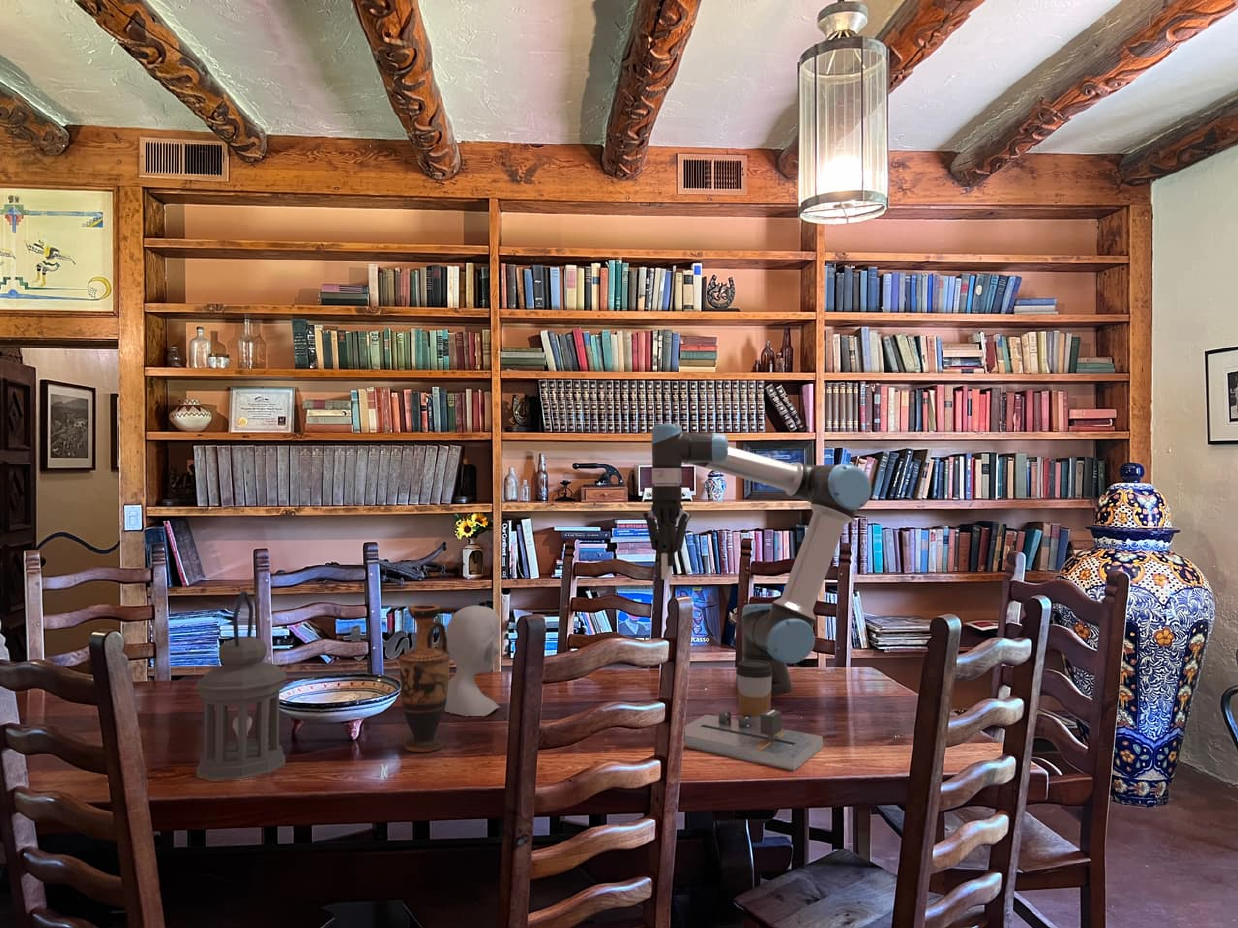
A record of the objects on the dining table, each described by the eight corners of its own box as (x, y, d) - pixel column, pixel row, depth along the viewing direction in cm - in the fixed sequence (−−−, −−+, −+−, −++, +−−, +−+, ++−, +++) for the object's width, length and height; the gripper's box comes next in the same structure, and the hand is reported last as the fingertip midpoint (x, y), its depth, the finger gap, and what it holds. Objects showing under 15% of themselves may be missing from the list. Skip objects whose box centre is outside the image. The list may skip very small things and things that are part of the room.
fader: (769, 742, 172) (768, 708, 172) (781, 744, 170) (781, 710, 171) (760, 747, 168) (760, 713, 168) (772, 750, 167) (772, 715, 167)
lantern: (281, 776, 155) (283, 595, 155) (185, 785, 150) (187, 598, 151) (291, 748, 171) (292, 584, 171) (204, 756, 166) (206, 587, 167)
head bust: (529, 701, 207) (529, 604, 208) (478, 720, 191) (479, 615, 191) (467, 689, 219) (467, 597, 219) (414, 706, 203) (414, 607, 203)
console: (706, 725, 187) (706, 705, 187) (822, 747, 171) (822, 726, 171) (671, 743, 174) (671, 723, 174) (794, 770, 158) (793, 747, 158)
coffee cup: (772, 735, 180) (772, 668, 180) (735, 733, 181) (735, 666, 181) (773, 724, 188) (772, 660, 188) (737, 722, 189) (737, 658, 190)
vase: (404, 758, 165) (405, 612, 165) (393, 742, 174) (394, 605, 175) (456, 750, 170) (456, 608, 170) (442, 735, 179) (443, 601, 180)
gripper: (637, 485, 203) (637, 578, 202) (681, 485, 196) (681, 582, 195) (652, 485, 209) (652, 575, 209) (696, 485, 202) (696, 579, 201)
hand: (666, 578), depth 202 cm, fingers closed
